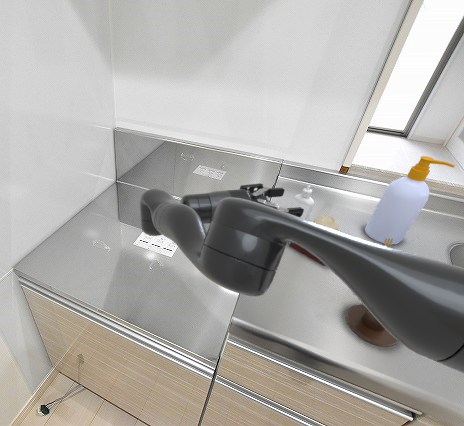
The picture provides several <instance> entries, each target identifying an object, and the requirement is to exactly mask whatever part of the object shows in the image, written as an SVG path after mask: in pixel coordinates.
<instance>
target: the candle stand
mask: <svg viewBox="0 0 464 426" xmlns="http://www.w3.org/2000/svg"><path fill="white" fill-rule="evenodd" d="M345 320H346V323H347V325H348V327H349V328H350V329H351V331H352V332H354V334H355V335H356V336H357V337H359V338H361V340H363V341H365V342H366V343H369V344H371V345H374V346H377V347H383V348H384V347H387V348H388V347H392V346H394V345H396V344H397V343H398V342H399V341H398V340H397V339H395V338H394V337H393V336H392V335H391V334H390V333H389V332H388V331H387V330H386V329H385V328H384V327H383V326H382V325H381V324H380V323H379V322H378V321H377V319H376V318H375V317H374V316H373V315H372V314H371V313H370V312H369V310H368V309H367V308H366V307H365V306H364V305H363V304H355V305H352V306H350V308H349V309H348V310H347V312H346V314H345Z"/></svg>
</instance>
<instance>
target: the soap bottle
mask: <svg viewBox="0 0 464 426" xmlns="http://www.w3.org/2000/svg"><path fill="white" fill-rule="evenodd" d="M431 164H433V165H441V166H442V165H443V166H446V167H450V168H455V166H456V165H455V164H453V163H450V162H447V161H444V160H439V159H434V157H431V156H428V155H427V156H426V155H421V156H420V159H419V161H418V163H416V164H415V165H413V166H411V167H410V169H409V171H408V173H407V174H406V176H402V177H399V178H396V179H395V180H393V181H391V182H390V183H389V184H388V185H387V186H386V188H385V190H384V192H383V193H382V195H381V197H380V199H379V201H378V203H377V205H376V207H375V209H374V210H373V213H372V214H371V216H370V218H369V220H368V221H367V223H366V226H365V228H364V231H365V233H366V235H367V236H368V238H370V239H372V240H374V241H376V242H379V243H381V244H384V242H385V239H386V238H387V242H388V239H389V238H390V241H391V239H392V238H393V241H392V244H391V245H398V244H399V243H401V242H402V241H403V239H404V237H405V236H406V235H407V233H408V231H409V230H410V228H411V227H412V226H413V224H414V222H415V221H416V219H417V217H418V216H419V214H420V213H421V212H422V210H423V208H424V207H425V205H426V203H427V202H428V200H429V198H430V189H429V186H428V184H427V183H426V182H425V180H426V179H427V177H428V175H430V172H431V170H430V165H431ZM390 241H389V244H390ZM387 242H386V244H387Z"/></svg>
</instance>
